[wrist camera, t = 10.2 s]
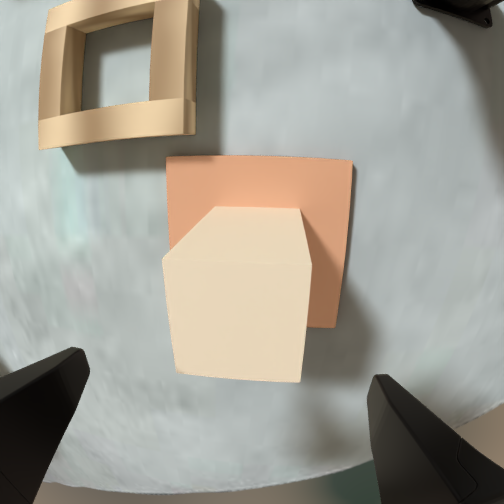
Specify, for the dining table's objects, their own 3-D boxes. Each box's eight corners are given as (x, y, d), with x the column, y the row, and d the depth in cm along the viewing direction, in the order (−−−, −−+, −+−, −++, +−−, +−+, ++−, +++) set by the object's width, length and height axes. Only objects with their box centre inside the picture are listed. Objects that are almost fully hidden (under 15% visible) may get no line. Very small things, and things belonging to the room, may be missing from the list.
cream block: (299, 208, 19) (311, 265, 10) (295, 286, 20) (299, 382, 12) (215, 206, 19) (161, 258, 11) (217, 283, 21) (176, 372, 12)
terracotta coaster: (350, 160, 18) (352, 160, 18) (334, 323, 22) (335, 327, 21) (169, 156, 19) (166, 156, 19) (178, 314, 23) (176, 318, 22)
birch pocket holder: (200, -14, 15) (190, -30, 13) (195, 134, 19) (183, 133, 16) (68, 17, 16) (48, 9, 14) (60, 147, 19) (38, 149, 17)
